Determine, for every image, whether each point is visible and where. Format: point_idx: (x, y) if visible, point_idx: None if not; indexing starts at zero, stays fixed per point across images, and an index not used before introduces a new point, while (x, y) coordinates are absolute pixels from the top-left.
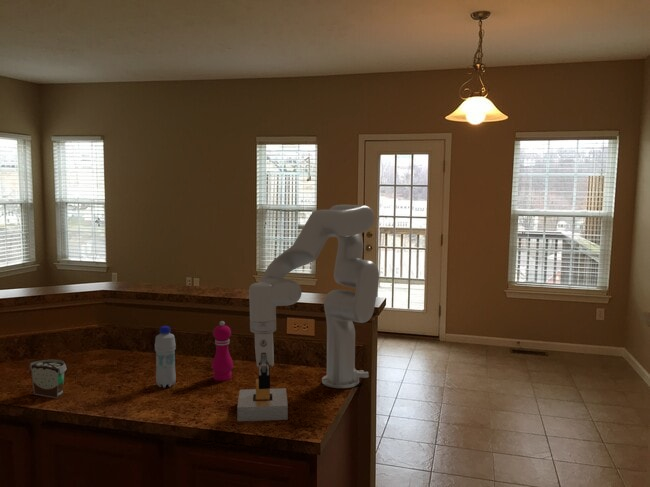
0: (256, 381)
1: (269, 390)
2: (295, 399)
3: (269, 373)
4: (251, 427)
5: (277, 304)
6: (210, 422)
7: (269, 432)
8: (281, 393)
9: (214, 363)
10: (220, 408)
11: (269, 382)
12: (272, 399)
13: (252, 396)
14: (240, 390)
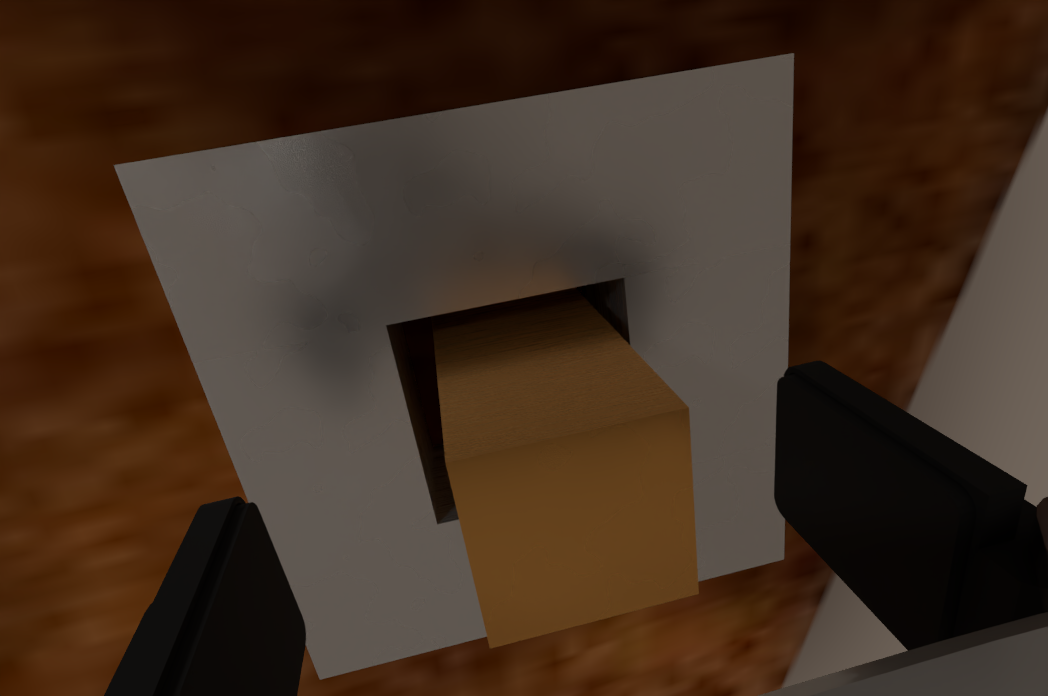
0: (605, 610)
1: (642, 361)
2: (92, 26)
3: (220, 532)
4: (833, 361)
5: None
6: (725, 631)
7: (942, 202)
8: (360, 202)
9: None
10: (484, 659)
11: (888, 408)
12: (586, 284)
13: None
14: (345, 666)
